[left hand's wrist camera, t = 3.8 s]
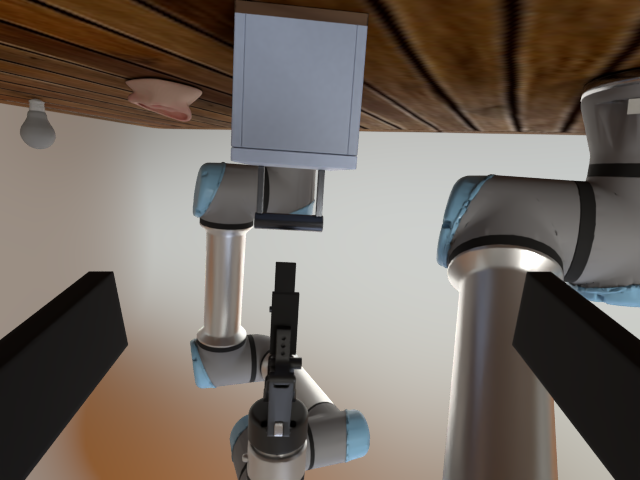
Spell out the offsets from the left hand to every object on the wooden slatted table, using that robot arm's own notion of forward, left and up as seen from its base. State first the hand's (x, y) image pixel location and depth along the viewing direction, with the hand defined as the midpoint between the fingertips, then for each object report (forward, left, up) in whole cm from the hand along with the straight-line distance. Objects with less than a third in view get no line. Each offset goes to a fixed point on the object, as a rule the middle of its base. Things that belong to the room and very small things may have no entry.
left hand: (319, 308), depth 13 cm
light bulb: (-35, +87, -16) cm, 95 cm away
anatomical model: (-33, +46, -16) cm, 59 cm away
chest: (-22, +16, -16) cm, 32 cm away
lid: (-23, +16, -6) cm, 28 cm away
